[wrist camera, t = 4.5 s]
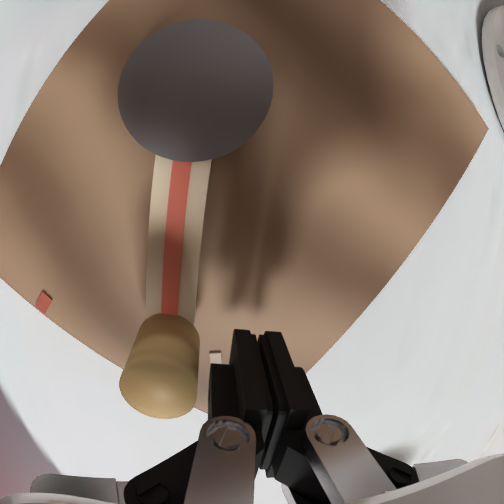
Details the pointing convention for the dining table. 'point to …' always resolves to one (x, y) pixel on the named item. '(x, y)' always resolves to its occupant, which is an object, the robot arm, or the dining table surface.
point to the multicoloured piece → (183, 185)
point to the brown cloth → (239, 179)
